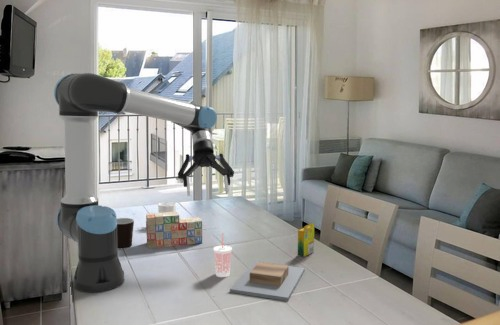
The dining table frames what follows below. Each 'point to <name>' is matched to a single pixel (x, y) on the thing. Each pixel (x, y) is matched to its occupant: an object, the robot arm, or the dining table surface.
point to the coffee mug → (124, 232)
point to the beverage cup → (222, 259)
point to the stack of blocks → (172, 230)
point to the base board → (267, 290)
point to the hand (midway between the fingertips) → (208, 193)
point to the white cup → (167, 207)
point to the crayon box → (306, 240)
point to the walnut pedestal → (269, 273)
